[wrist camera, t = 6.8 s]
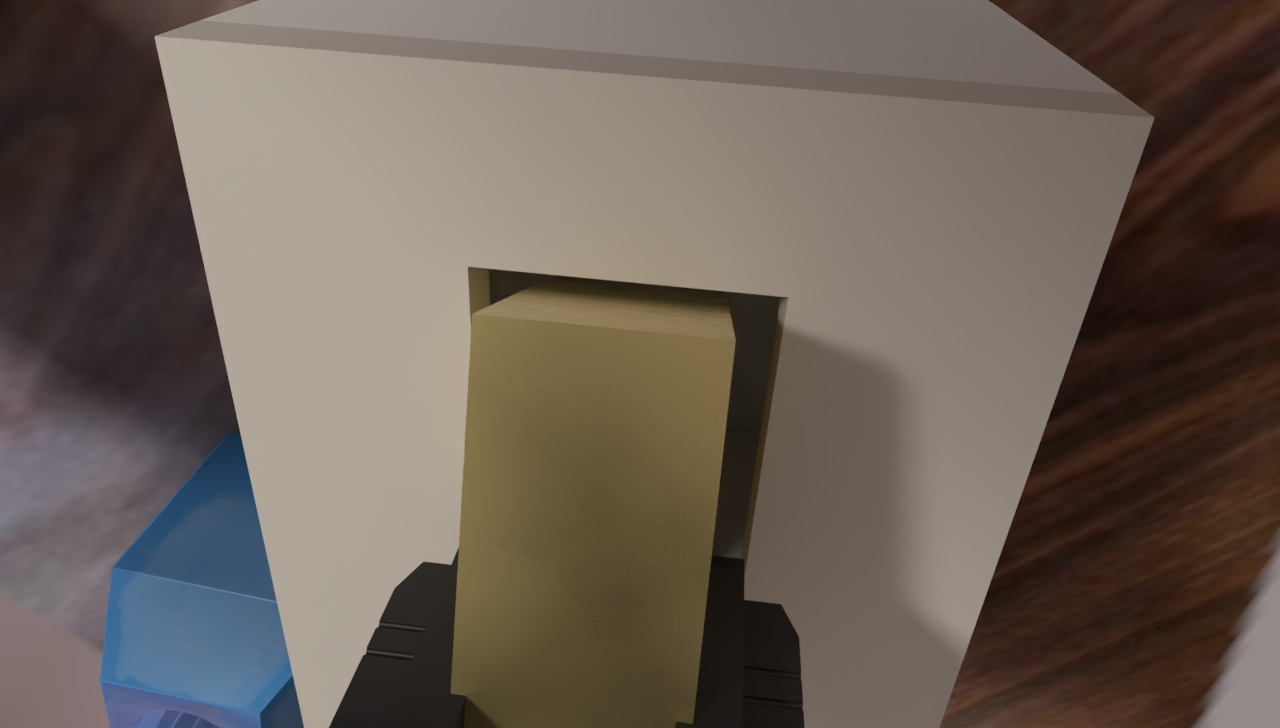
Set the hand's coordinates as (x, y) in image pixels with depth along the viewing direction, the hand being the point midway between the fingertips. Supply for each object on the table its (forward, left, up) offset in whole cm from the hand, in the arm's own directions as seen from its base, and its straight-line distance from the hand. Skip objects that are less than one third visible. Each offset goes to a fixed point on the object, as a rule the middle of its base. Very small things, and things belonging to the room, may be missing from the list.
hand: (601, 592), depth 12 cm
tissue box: (0, 0, -13) cm, 13 cm away
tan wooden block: (0, 0, -2) cm, 2 cm away
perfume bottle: (+12, -11, -14) cm, 21 cm away
